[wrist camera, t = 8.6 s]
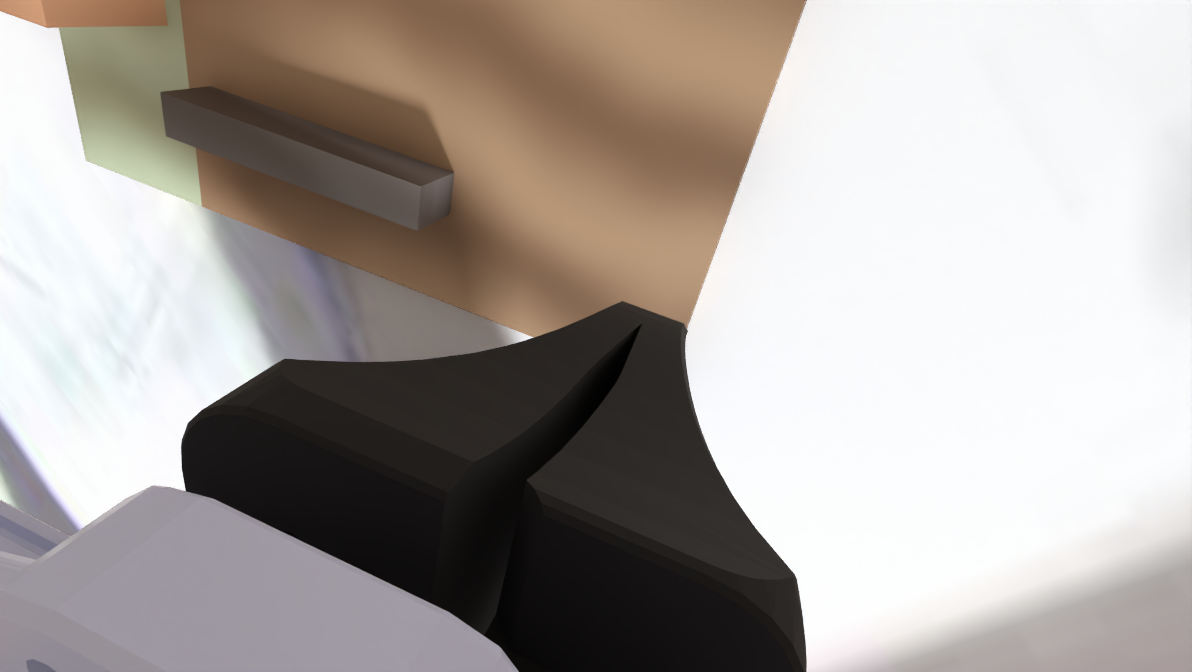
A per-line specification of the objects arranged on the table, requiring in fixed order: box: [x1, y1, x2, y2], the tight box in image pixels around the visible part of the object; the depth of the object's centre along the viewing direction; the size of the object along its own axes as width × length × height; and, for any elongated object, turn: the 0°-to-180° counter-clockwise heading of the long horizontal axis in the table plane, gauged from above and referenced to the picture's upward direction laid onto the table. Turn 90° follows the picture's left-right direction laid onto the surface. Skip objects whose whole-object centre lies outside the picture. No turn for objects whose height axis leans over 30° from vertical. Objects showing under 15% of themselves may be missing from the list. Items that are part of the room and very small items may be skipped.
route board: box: [59, 0, 807, 337], centre depth 19 cm, size 18×26×3 cm
